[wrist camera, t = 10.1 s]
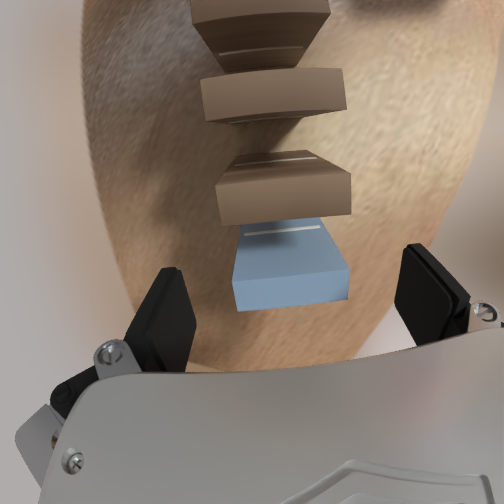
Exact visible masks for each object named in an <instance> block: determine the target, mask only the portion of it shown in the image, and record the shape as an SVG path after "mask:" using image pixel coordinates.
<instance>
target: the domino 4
mask: <svg viewBox="0 0 504 504" xmlns="http://www.w3.org/2000/svg"><path fill="white" fill-rule="evenodd" d="M349 272H350V269H349V267H348V265H347V263H346V262H345V260H344V258H343V256H342V255H341V253H340V251H339V249H338V248H337V246H336V244H335V243H334V241H333V239H332V238H331V236H330V234H329V233H328V231H327V229H326V228H325V226H324V224H323V223H322V221H321V219H320V218H319V217H314V218H303V219H292V220H282V221H272V222H262V223H252V224H243V225H241V229H240V235H239V241H238V247H237V253H236V259H235V265H234V271H233V277H232V285H233V291H234V296H235V300H236V305H237V310H238V312H239V311H251V310H262V309H273V308H282V307H292V306H301V305H309V304H317V303H325V302H333V301H340V300H347V299H348V288H349Z"/></svg>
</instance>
